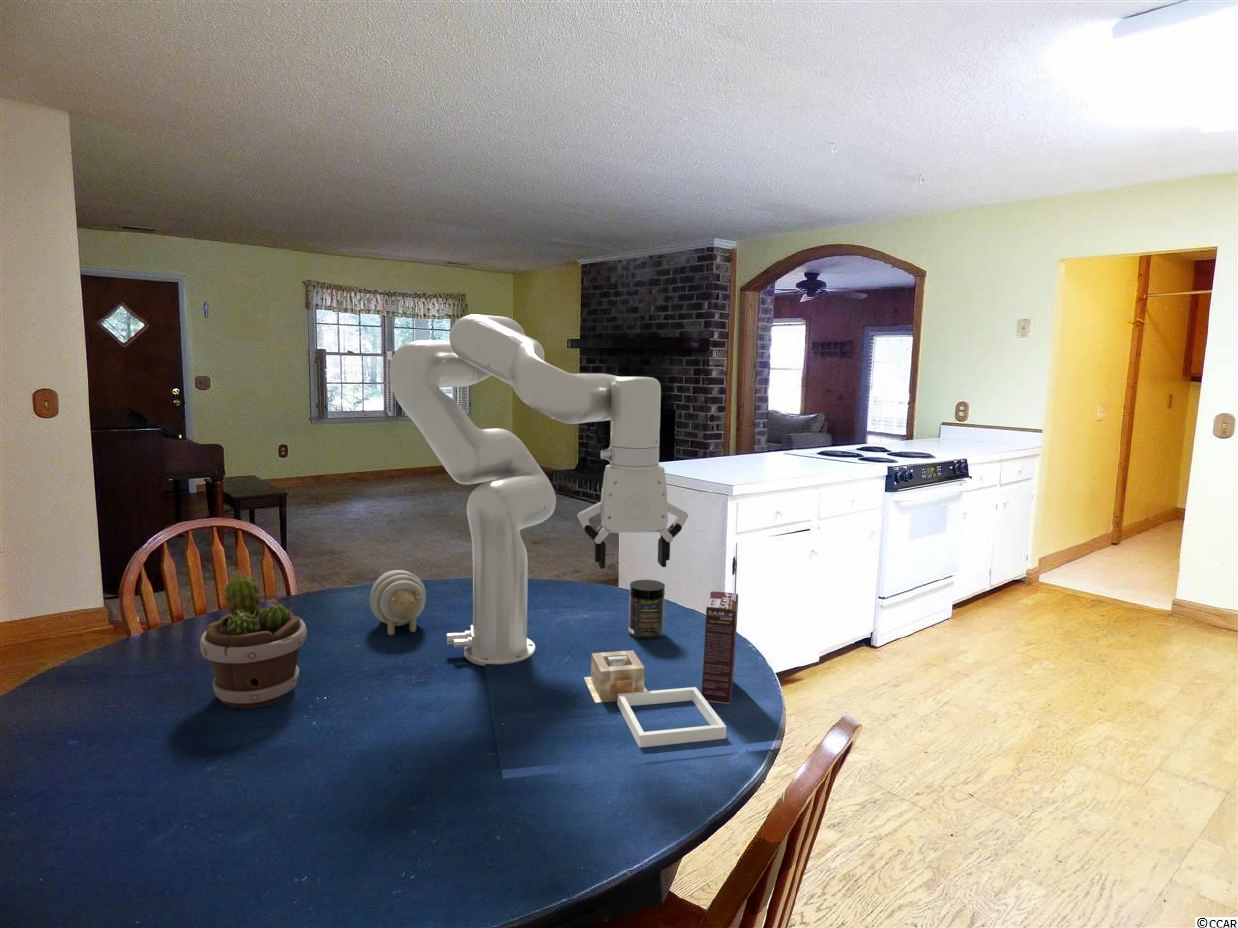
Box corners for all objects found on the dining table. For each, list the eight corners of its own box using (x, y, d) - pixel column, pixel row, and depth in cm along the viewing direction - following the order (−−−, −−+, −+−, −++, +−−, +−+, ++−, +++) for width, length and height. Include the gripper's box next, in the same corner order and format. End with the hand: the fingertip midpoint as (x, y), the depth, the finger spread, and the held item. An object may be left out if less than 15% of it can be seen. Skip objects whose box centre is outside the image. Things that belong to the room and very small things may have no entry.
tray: (639, 752, 100) (639, 735, 100) (617, 709, 112) (617, 693, 112) (725, 743, 103) (726, 726, 103) (695, 701, 115) (695, 686, 115)
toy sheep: (382, 645, 134) (380, 586, 132) (359, 616, 148) (358, 563, 146) (438, 635, 139) (438, 578, 138) (412, 608, 154) (411, 556, 152)
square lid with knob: (595, 707, 113) (596, 671, 112) (583, 681, 121) (584, 648, 120) (651, 702, 115) (652, 667, 114) (636, 677, 124) (637, 644, 123)
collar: (602, 703, 112) (603, 675, 112) (591, 679, 120) (591, 653, 120) (646, 699, 114) (647, 671, 113) (632, 675, 122) (633, 650, 122)
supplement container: (670, 640, 140) (672, 587, 139) (639, 646, 137) (641, 592, 135) (651, 628, 146) (652, 577, 144) (621, 634, 143) (623, 582, 141)
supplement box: (731, 708, 114) (736, 610, 111) (700, 705, 114) (704, 607, 112) (734, 684, 122) (739, 592, 120) (704, 681, 123) (709, 590, 120)
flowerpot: (327, 694, 115) (323, 570, 112) (221, 728, 103) (214, 591, 100) (287, 665, 124) (282, 550, 121) (187, 694, 113) (179, 568, 110)
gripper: (581, 461, 108) (579, 574, 110) (695, 460, 111) (691, 571, 113) (575, 454, 115) (574, 560, 117) (683, 454, 118) (679, 557, 120)
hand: (631, 565), depth 115 cm, fingers open, 9 cm apart
